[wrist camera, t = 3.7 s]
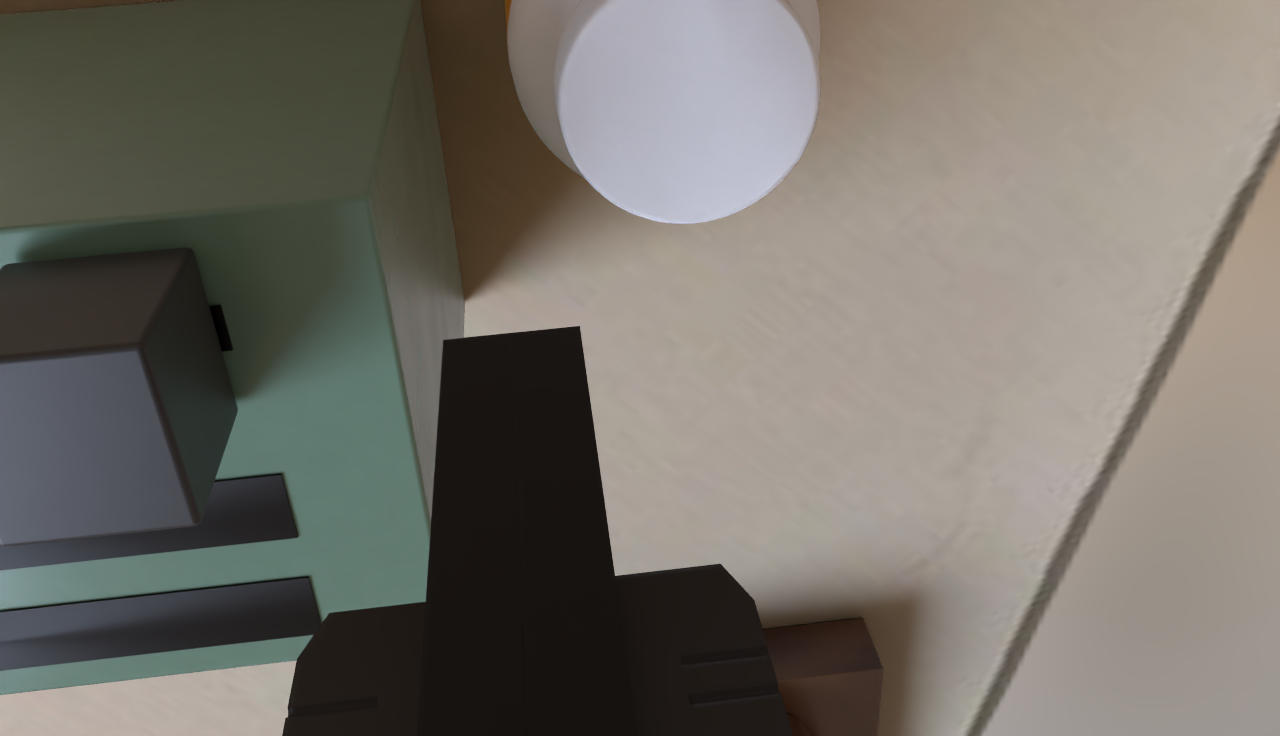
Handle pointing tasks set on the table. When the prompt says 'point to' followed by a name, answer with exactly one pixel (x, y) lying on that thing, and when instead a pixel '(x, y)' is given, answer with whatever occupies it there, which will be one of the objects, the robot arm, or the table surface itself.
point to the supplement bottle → (670, 96)
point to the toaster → (243, 312)
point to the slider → (108, 396)
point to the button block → (827, 677)
